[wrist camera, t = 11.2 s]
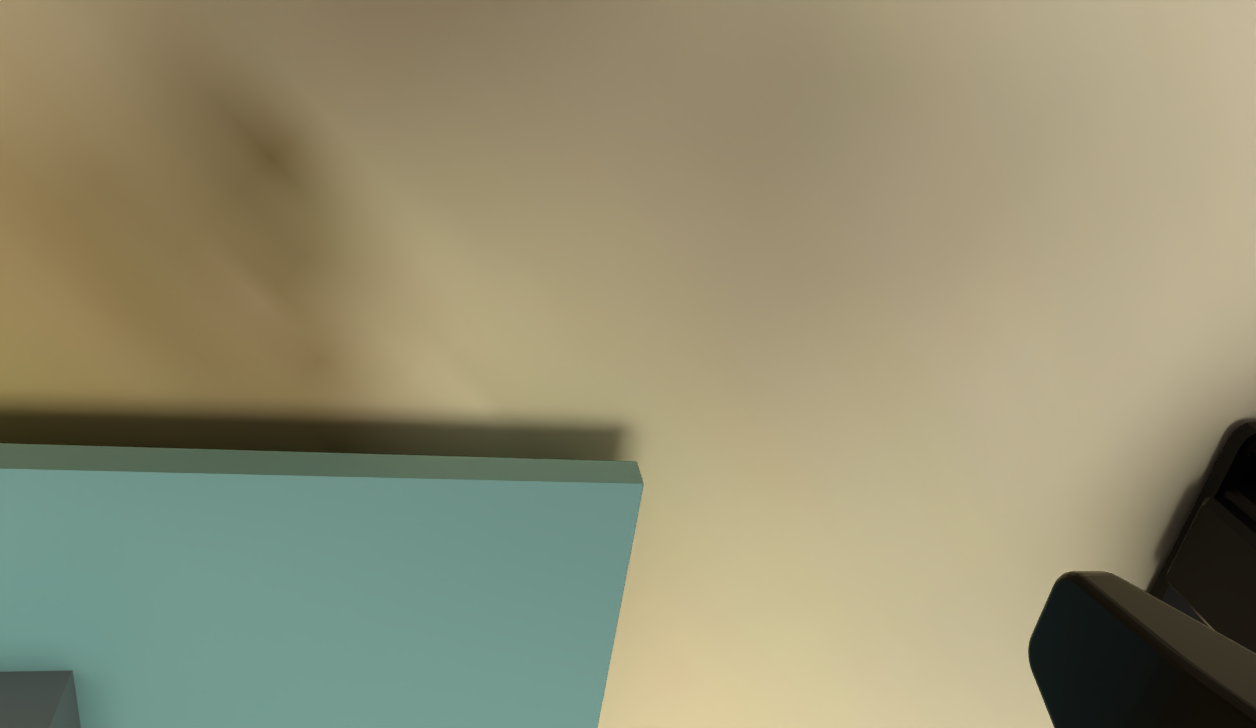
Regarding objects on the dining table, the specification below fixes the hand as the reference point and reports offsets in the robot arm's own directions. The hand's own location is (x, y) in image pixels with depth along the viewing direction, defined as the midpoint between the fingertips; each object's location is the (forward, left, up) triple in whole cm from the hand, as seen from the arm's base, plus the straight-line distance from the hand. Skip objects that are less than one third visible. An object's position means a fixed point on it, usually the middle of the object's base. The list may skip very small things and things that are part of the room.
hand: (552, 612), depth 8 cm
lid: (+4, +12, -12) cm, 17 cm away
